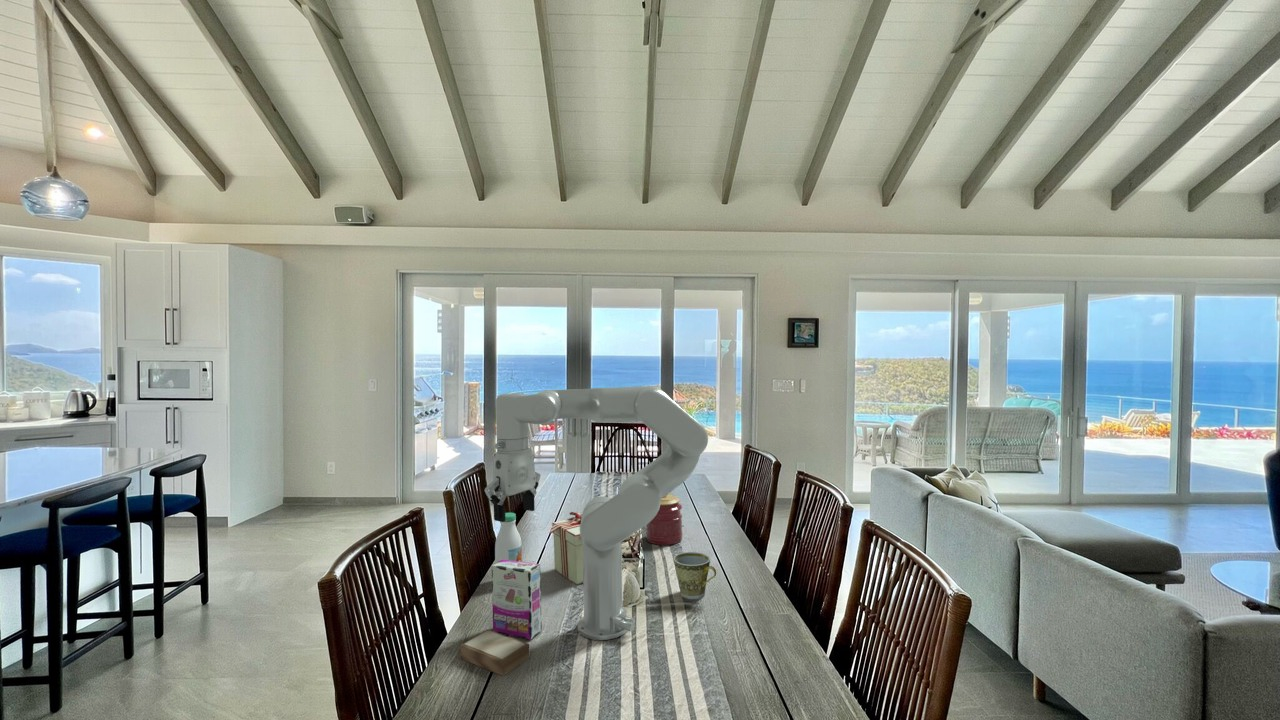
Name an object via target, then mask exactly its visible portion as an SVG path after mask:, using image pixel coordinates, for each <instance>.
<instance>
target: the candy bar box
mask: <svg viewBox="0 0 1280 720" xmlns="http://www.w3.org/2000/svg"><path fill="white" fill-rule="evenodd" d="M541 586H542V585H541V564H540V563H534V562H525V561H522V562H520V561H512V560H505V559H503V560H501V561H499V562H497V563H496V564H495V563H494V564H492V565H491V594H492V596H491V597H492V602H491V603H492V631H494V632H497V633H500V634H502V635H505V636H509V637H514V638H515V637H516V638H520V639H526V640H533V639H534V638H535V637H536V636H538V635H539V634H540V633H541V632H542V629H543V628H542V593H541V591H542V589H541V588H542V587H541Z"/></svg>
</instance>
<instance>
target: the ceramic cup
mask: <svg viewBox="0 0 1280 720" xmlns="http://www.w3.org/2000/svg"><path fill="white" fill-rule="evenodd" d="M673 564H674V569H675V573H676V575H677V581H678V585H679V590H680V591H679V592H680V595H681V598H684V599H686V600H687V599H688V600H700V599H701V598H704V597H705V595H706V587H707V583H709V582H710V581H711V580H713V579H714V578H715V577H716V575H717V571H716V569H715V567H714V566H713V565H710V564H711V558H710V556H709V555H707V554H705V553H702V552H697V551H686V552H685V551H684V552H680V553H678V554H676V555H674V557H673ZM709 570H712V571H713V573H714V574H713V576H711V577H709V578H708V575H709Z"/></svg>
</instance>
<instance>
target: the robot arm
mask: <svg viewBox="0 0 1280 720" xmlns="http://www.w3.org/2000/svg"><path fill="white" fill-rule="evenodd" d="M560 419H561V420H562V419H583V420H589V421H592V422H595V423H603V424H606V423H628V422H629V423H630V422H631V423H632V422H637V423H638V422H639V423H640V422H641V423H643V424H644V425H645V426H646V427H647V428H648V429H649V430H650V431H651V432H653V434H655V435H656V436H657V437H658V438H660V439H661V440H662V441H663V442H664V443H665V444H666V445H667V447H666V449H665V450H664V451H663V453H661V454H660V455H659V456H658V457H657V458H655V459H654V460H653V461H652V462H650V463H649V464H647V465H646V466H644V467H643V468H641V469H639V470H637V472H635V473H633V474H631V476H628V477H627V478H626V479H625V480H624V481H623V482H622V483H621V485H620V487H619V492H618V493H617V494H615V495H614V496H613V497H608V496H603V495H602V496H596V497H594V498H592V499H591V500H589V501H588V502H587V503H586V504H585V506H584V508H583V509H582V510H583V511H582V513H581V514H582V517H581V523H580V536H581V539H582V541H583V583H582V585H583V586H582V590H583V591H582V592H583V593H582V594H583V595H582V596H583V597H582V598H583V599H582V600H583V601H582V602H583V616H582V617H580V619H579V620H578V622H577V631H578V633H579V634H580V635H581V636H582V637H584V638H587V639H589V640H593V641H594V640H595V641H605V640H606V641H607V640H612V639H616V638H618V637H621V636H623V635H624V634H625V633H627V632H631V633H632V632H634V630H635V623H636V618H634V617H629V616H628V615H627V608H624V607H623V602H624V601H623V555H622V554H623V549H622V547H623V546H622V545H623V544H622V542H624V541H625V540H627V539H628V538H630V537H631V536H632V535H634V534H635V533H637V532H638V531H640V530H641V529H643V528H644V527H646V525H647V524H648V523H649V522H650V521H652V520H653V518H654V517H655V516H656V515H657V513H658V511H659V508H660V503H661V499H662V498H663V497H665V496H666V495H667V494H670V493H672V492H673V491H674V490H675V489H677V488H678V487H679V486H681V485H682V484H683V483H684V482H686V481H687V479H688V478H690V476H691V474H693V472H694V470H695V469H696V467H697V464H698V463H699V459H700V457H701V454H702V453H703V452H704V451H705V450H706V449H707V446H708V443H709V436H708V432H707V429H706V428H705V427H704V426H703V425H702V423H700V422H699V421H698V420H697V419H696V418H694V417H693V416H691V415H690V414H689V413H688V412H687V411H685V410H684V409H683V408H682V407H681V406H680V405H679V404H677V402H675V400H673V399H672V398H671V397H670V396H669V395H668V394H667V393H666V392H665V391H663V389H661V388H659V387H657V386H650V385H648V386H647V385H646V386H645V385H644V386H621V387H620V386H618V387H614V386H613V387H594V388H593V387H592V388H574V389H573V388H572V389H570V388H569V389H548V390H547V389H546V390H542V391H539V392H536V393H533V394H527V395H526V394H523V393H512V392H510V393H503V394H499V395H498V396H497V397H496V399H495V424H496V425H495V429H496V433H495V434H496V443H495V444H494V449H495V450H496V452H495V455H494V461H493V474H492V478H493V479H492V481H491V482H490V483H489V484H488V485H487V486H486V487H485V488H484V493H485V495H486V496H487V500H488V501H490V503H491V505H493V520H494V521H496V522H499V523H500V522H504V521H505V513H506V505H505V504H504V502H505V500H506V498H507V496H509V497H510V496H515V495H517V494H521V493H523V496H522V497H523V499H522V501H523V502H522V503H523V505H522V506H523V510H524V511H529V512H533V511H535V509H536V507H535V495H536V493H537V489H538V487H539V482H540V478H541V473H538V472H536V469H535V460H534V454H533V452H532V451H533V450H532V448H531V447H530V444H529V443H530V442H529V439H530V438H529V424H532V425H547V424H549V423H551V422H553V421H554V420H560Z"/></svg>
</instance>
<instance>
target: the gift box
mask: <svg viewBox="0 0 1280 720" xmlns="http://www.w3.org/2000/svg"><path fill="white" fill-rule="evenodd" d="M568 514H569V515H570V516H572V517H570V518H567V519H563V520H558V521H555V522H554V521H553V522H551V527H550V531H549V534H553V553H554V554H553V557H554V559H553V560H554V571H557V573H559V574H561V575H562V576H563V577H565V578H567V579H568V580H569V581H570V582H572V583H574V584H575V585H580V584H583V541H582V539H581V536H580V523H581V517H582V513H579V512H574V511H571V512H569V513H568Z"/></svg>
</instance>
